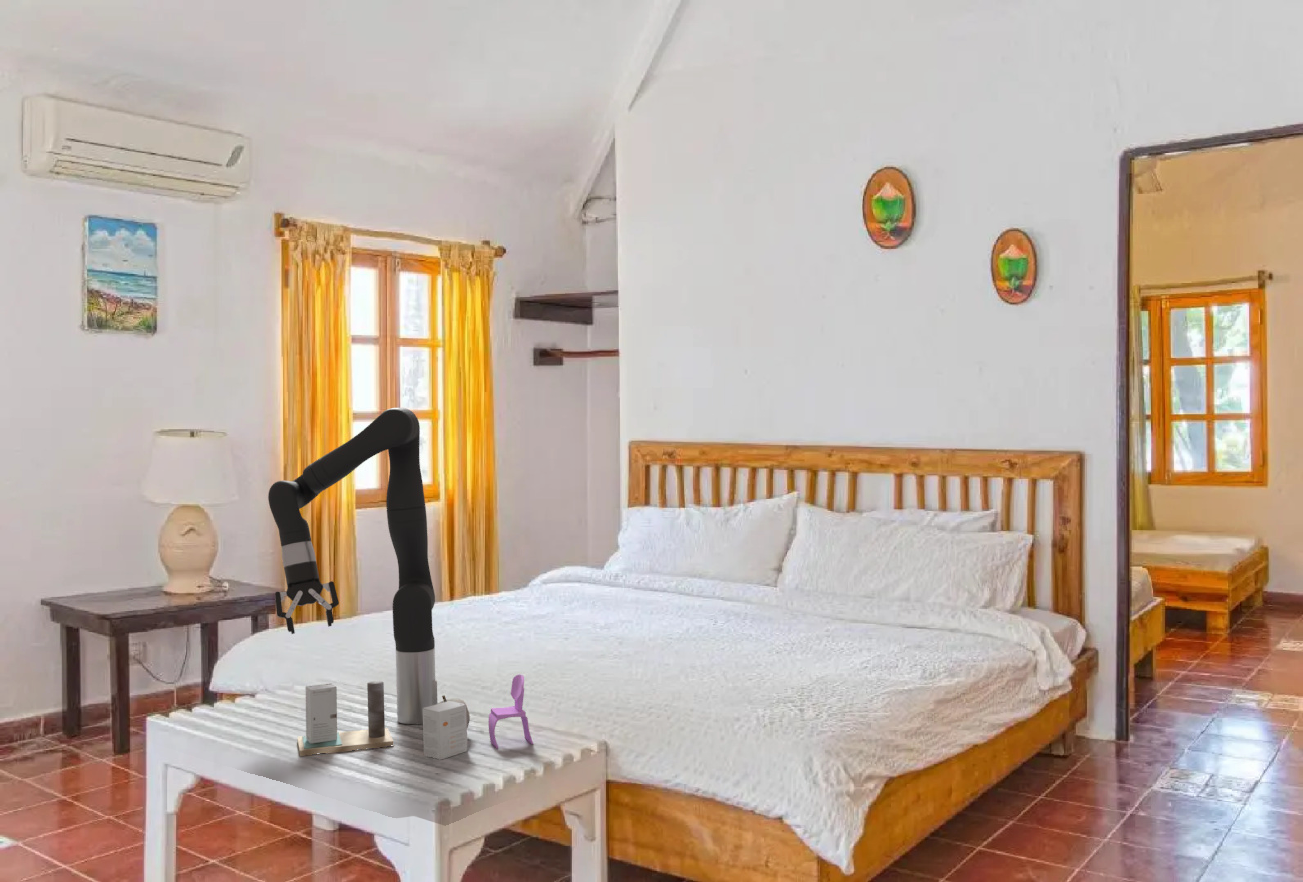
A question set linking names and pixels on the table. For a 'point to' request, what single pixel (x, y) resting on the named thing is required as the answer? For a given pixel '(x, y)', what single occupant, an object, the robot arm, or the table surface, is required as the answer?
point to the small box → (444, 729)
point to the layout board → (357, 739)
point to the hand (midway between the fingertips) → (311, 630)
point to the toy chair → (511, 710)
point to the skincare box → (321, 713)
